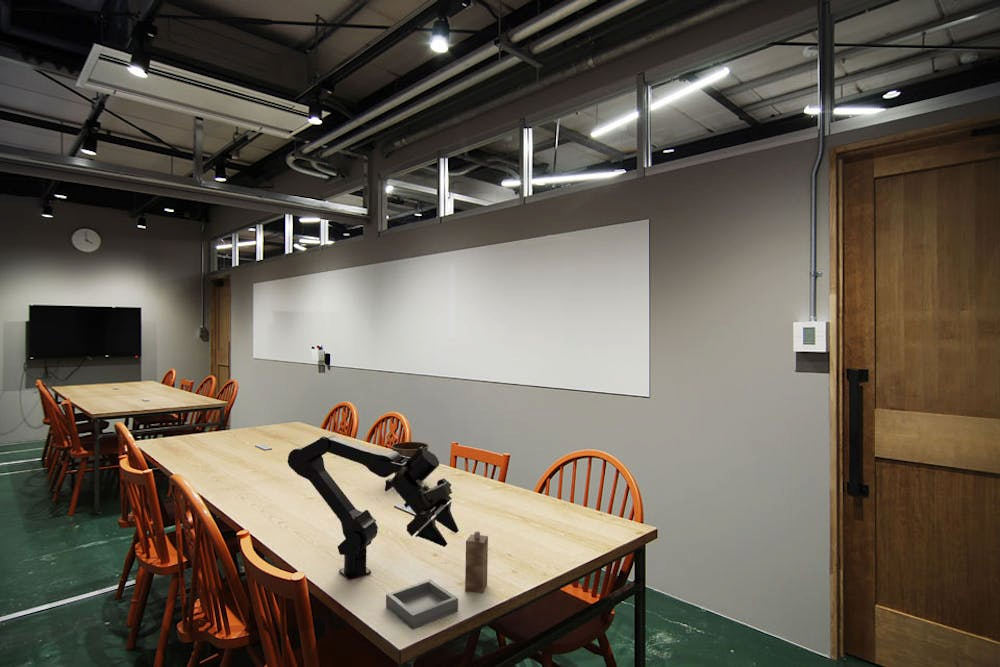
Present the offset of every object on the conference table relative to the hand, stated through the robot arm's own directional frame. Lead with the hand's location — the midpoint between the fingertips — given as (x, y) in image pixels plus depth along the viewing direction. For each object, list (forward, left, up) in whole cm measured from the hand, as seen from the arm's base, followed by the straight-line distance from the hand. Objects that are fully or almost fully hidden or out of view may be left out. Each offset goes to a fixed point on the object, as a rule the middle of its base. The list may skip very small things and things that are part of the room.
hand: (451, 538), depth 130 cm
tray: (+5, -12, -12) cm, 18 cm away
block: (+5, +4, -12) cm, 14 cm away
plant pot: (-89, +40, -12) cm, 98 cm away
